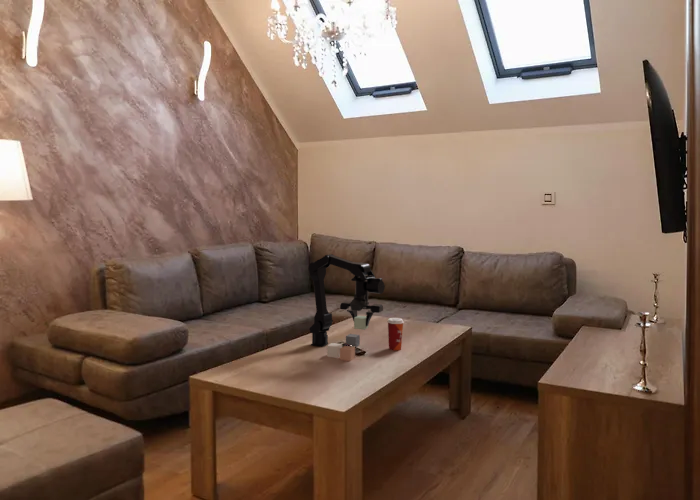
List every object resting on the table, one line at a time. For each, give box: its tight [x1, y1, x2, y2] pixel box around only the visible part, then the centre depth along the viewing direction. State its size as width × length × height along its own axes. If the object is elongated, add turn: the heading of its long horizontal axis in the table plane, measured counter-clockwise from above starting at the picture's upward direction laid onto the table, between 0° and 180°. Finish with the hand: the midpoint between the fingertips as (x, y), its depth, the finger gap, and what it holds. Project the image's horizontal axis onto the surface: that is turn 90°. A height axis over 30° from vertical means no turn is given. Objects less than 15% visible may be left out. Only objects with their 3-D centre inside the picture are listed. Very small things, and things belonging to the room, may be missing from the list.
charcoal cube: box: [345, 333, 361, 348], centre depth 268 cm, size 5×5×5 cm
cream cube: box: [326, 342, 343, 359], centre depth 251 cm, size 5×5×5 cm
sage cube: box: [353, 315, 369, 331], centre depth 254 cm, size 5×5×5 cm
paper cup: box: [386, 317, 405, 351], centre depth 262 cm, size 8×8×14 cm
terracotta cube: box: [339, 345, 356, 362], centre depth 246 cm, size 5×5×5 cm
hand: (361, 325), depth 254 cm, fingers closed on sage cube, 5 cm apart
